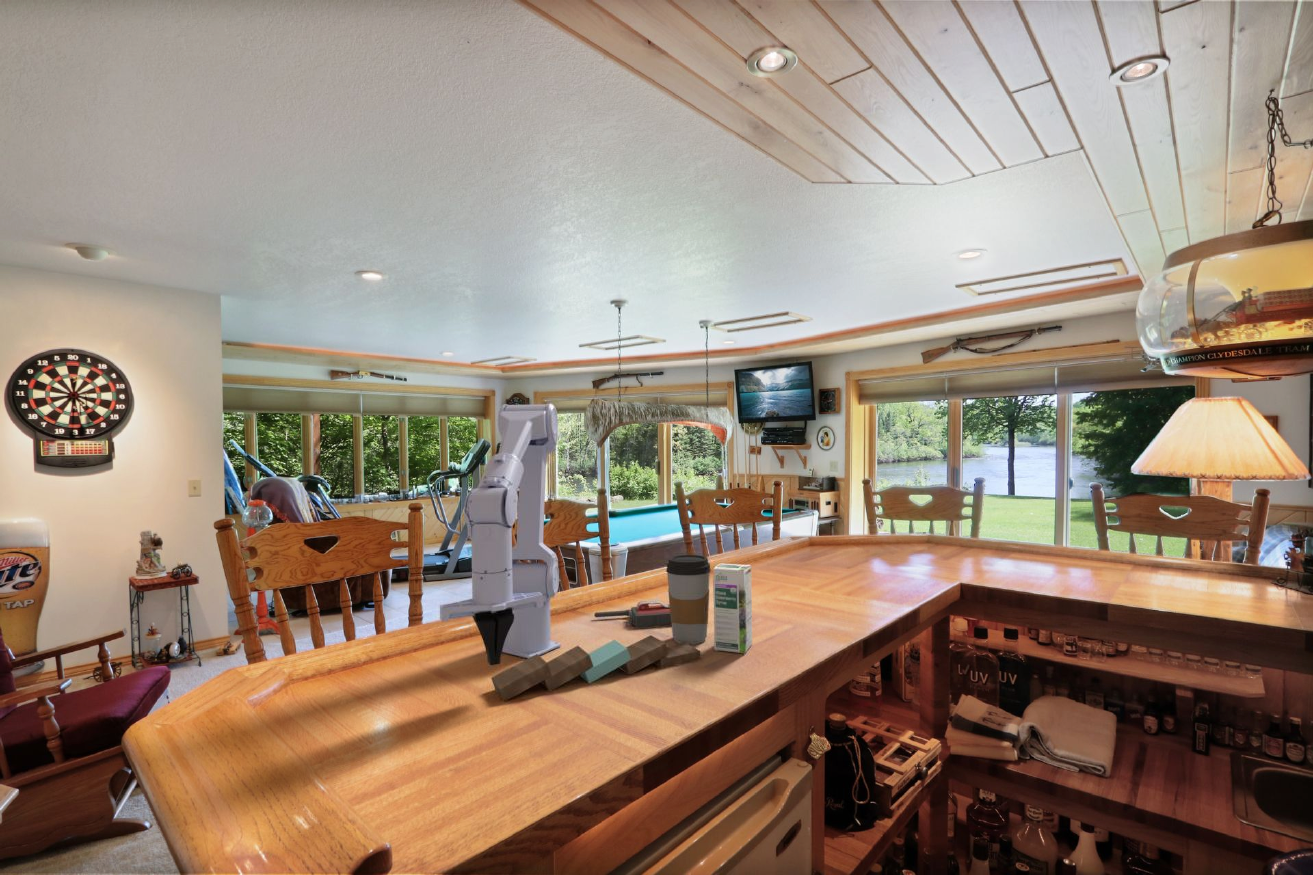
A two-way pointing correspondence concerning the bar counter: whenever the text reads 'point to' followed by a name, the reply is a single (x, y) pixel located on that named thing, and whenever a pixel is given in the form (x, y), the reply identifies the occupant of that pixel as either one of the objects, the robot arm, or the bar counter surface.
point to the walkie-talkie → (644, 614)
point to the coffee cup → (689, 597)
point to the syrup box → (732, 608)
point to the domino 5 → (678, 655)
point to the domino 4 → (644, 654)
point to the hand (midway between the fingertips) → (493, 662)
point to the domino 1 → (521, 677)
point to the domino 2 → (567, 667)
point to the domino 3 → (606, 660)
